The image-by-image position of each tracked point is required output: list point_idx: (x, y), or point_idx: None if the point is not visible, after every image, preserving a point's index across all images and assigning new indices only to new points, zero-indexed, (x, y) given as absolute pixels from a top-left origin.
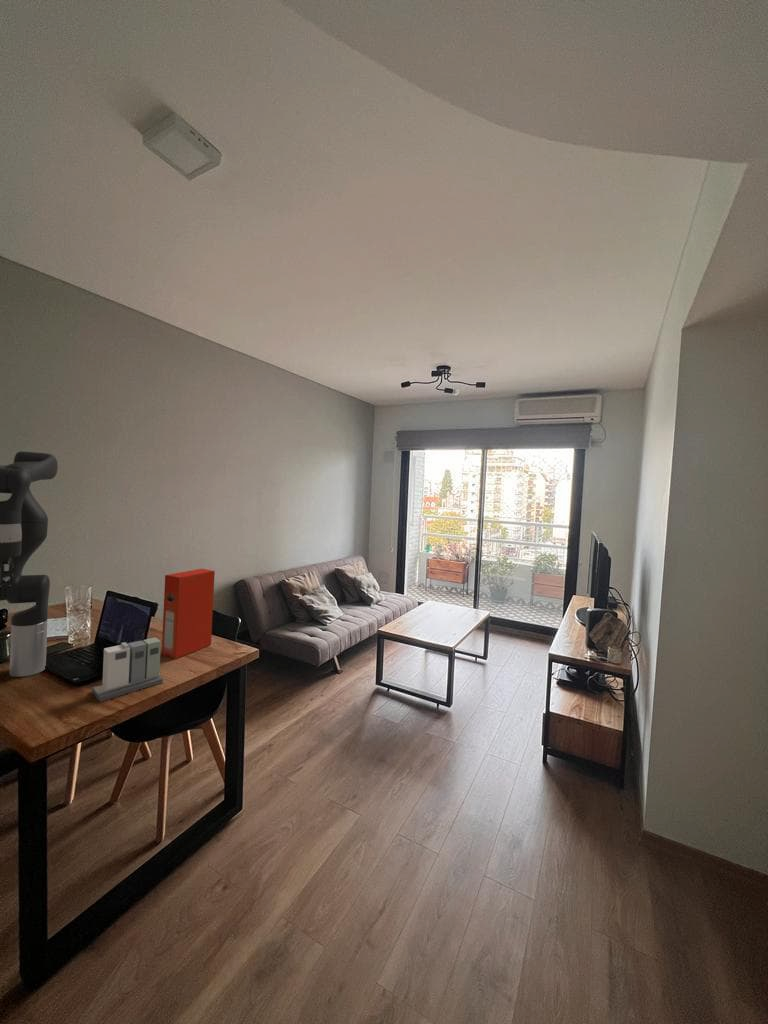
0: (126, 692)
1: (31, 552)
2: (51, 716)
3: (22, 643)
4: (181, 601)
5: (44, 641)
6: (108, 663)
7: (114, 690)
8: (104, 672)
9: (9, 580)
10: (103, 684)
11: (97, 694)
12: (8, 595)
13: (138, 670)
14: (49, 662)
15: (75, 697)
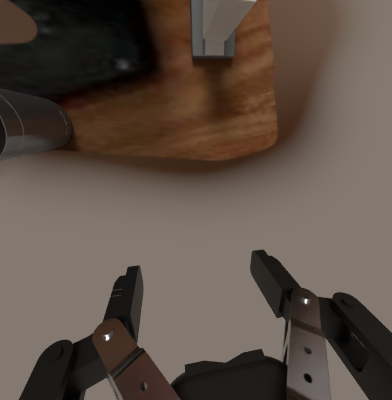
0: None
1: None
2: (228, 121)
3: (36, 140)
4: None
5: (17, 96)
6: (245, 14)
7: None
8: (218, 27)
9: (345, 322)
10: (209, 38)
11: (221, 56)
12: (269, 260)
13: None
14: (12, 86)
15: (194, 84)
